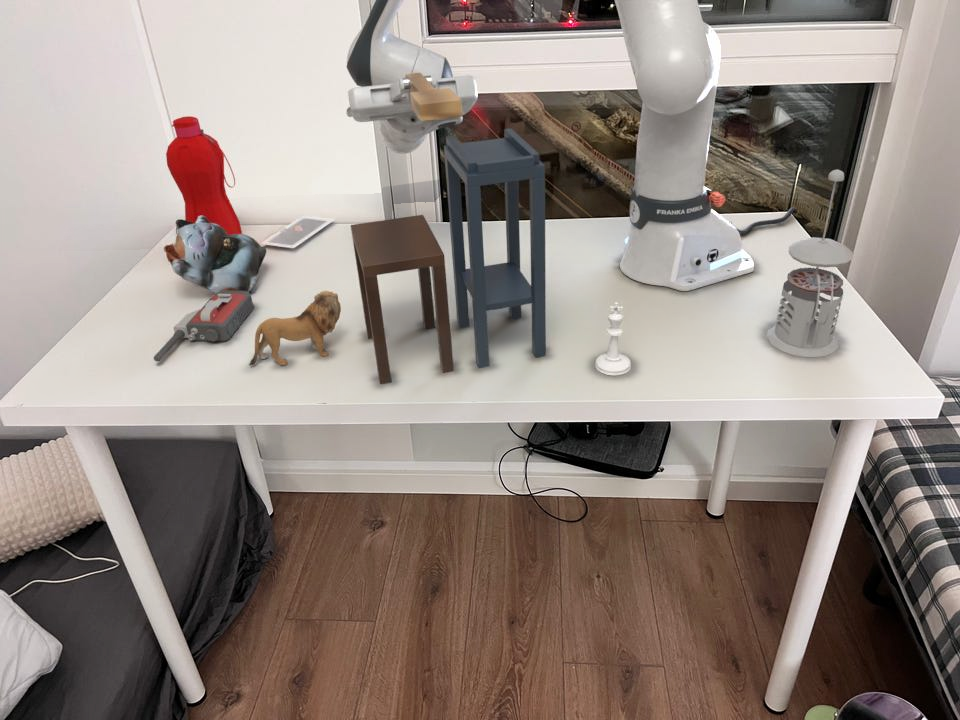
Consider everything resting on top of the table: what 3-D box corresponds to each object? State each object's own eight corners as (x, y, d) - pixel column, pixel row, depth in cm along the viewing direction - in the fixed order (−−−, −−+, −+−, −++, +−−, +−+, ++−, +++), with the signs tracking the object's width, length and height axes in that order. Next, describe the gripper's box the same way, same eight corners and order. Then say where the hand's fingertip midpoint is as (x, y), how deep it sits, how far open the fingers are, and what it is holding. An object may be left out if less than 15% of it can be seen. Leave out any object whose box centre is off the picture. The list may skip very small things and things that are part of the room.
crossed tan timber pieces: (431, 83, 116) (430, 68, 115) (462, 116, 100) (461, 99, 98) (396, 87, 115) (394, 72, 114) (420, 121, 99) (419, 104, 97)
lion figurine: (341, 334, 117) (332, 282, 112) (352, 350, 113) (343, 296, 108) (246, 360, 112) (232, 307, 107) (253, 377, 108) (239, 323, 103)
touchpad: (336, 224, 155) (334, 214, 154) (294, 253, 144) (292, 243, 143) (304, 220, 158) (302, 210, 157) (260, 248, 146) (258, 238, 145)
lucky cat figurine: (247, 303, 127) (187, 244, 119) (199, 320, 133) (138, 264, 124) (278, 244, 136) (224, 186, 128) (232, 262, 142) (177, 207, 134)
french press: (831, 323, 112) (869, 158, 99) (849, 366, 103) (894, 189, 89) (762, 320, 114) (790, 157, 100) (773, 362, 104) (806, 188, 91)
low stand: (433, 322, 119) (423, 214, 109) (453, 371, 107) (444, 254, 97) (367, 334, 117) (350, 224, 107) (380, 384, 105) (362, 266, 95)
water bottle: (243, 255, 144) (211, 123, 131) (186, 258, 144) (149, 126, 131) (256, 236, 152) (227, 109, 138) (202, 238, 152) (168, 112, 139)
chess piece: (630, 377, 103) (634, 312, 98) (593, 374, 104) (596, 310, 99) (631, 357, 107) (635, 295, 102) (596, 355, 108) (598, 293, 103)
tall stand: (518, 313, 120) (513, 127, 104) (545, 356, 109) (545, 155, 93) (457, 323, 118) (443, 136, 102) (478, 368, 107) (466, 166, 91)
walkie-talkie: (210, 303, 128) (151, 367, 111) (204, 279, 126) (142, 341, 109) (259, 304, 127) (207, 369, 110) (253, 280, 124) (199, 343, 108)
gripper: (342, 97, 123) (344, 67, 110) (464, 84, 127) (480, 53, 114) (349, 136, 124) (351, 111, 110) (470, 122, 128) (487, 95, 114)
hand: (418, 81), depth 112 cm, fingers closed on crossed tan timber pieces, 2 cm apart
